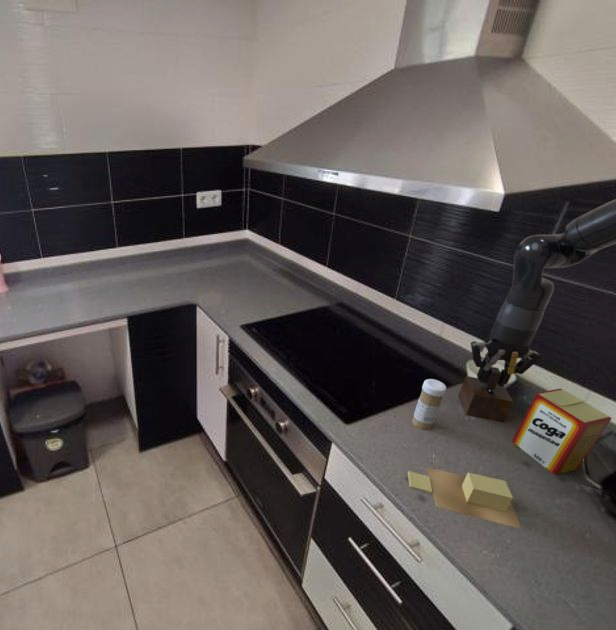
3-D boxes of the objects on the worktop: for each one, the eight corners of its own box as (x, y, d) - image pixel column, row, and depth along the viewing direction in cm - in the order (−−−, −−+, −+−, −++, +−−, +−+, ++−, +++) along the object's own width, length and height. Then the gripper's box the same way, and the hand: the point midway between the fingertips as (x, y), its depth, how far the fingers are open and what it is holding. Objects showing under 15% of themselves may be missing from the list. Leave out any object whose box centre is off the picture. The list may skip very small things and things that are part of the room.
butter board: (501, 489, 78) (503, 485, 78) (520, 533, 70) (522, 529, 69) (425, 470, 82) (427, 466, 82) (434, 510, 74) (436, 506, 73)
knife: (480, 404, 99) (497, 366, 94) (485, 413, 96) (502, 374, 91) (472, 403, 100) (488, 365, 94) (476, 412, 97) (493, 373, 91)
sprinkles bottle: (429, 424, 95) (445, 381, 89) (431, 437, 91) (448, 392, 85) (409, 419, 96) (423, 376, 90) (410, 431, 93) (425, 387, 87)
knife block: (490, 406, 101) (501, 381, 97) (501, 426, 94) (513, 401, 90) (456, 399, 103) (465, 375, 99) (463, 419, 96) (474, 394, 93)
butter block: (498, 494, 76) (505, 481, 74) (505, 512, 72) (513, 498, 70) (461, 485, 78) (467, 472, 76) (466, 502, 74) (473, 488, 72)
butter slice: (429, 476, 79) (408, 470, 80) (432, 492, 76) (410, 485, 77) (427, 481, 80) (406, 476, 81) (430, 497, 77) (408, 491, 78)
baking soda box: (575, 473, 81) (612, 416, 74) (551, 479, 80) (587, 422, 73) (531, 441, 90) (561, 387, 82) (509, 446, 88) (537, 391, 81)
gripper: (486, 324, 85) (461, 385, 93) (563, 334, 81) (530, 398, 89) (476, 310, 91) (454, 368, 99) (547, 318, 87) (518, 379, 95)
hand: (490, 382), depth 94 cm, fingers open, 3 cm apart
